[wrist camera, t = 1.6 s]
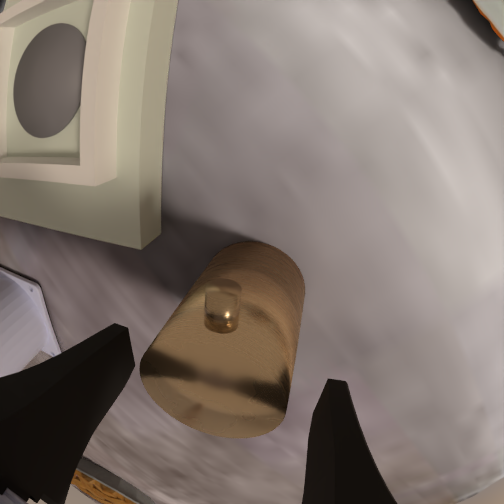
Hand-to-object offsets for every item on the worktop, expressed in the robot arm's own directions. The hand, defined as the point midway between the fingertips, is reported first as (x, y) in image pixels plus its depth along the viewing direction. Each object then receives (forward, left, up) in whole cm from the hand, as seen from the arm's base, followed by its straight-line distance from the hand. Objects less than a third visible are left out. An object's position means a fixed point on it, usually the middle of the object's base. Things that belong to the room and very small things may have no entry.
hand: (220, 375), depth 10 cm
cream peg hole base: (-13, +10, -6) cm, 17 cm away
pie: (-22, -52, -6) cm, 57 cm away
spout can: (0, 0, -6) cm, 6 cm away
